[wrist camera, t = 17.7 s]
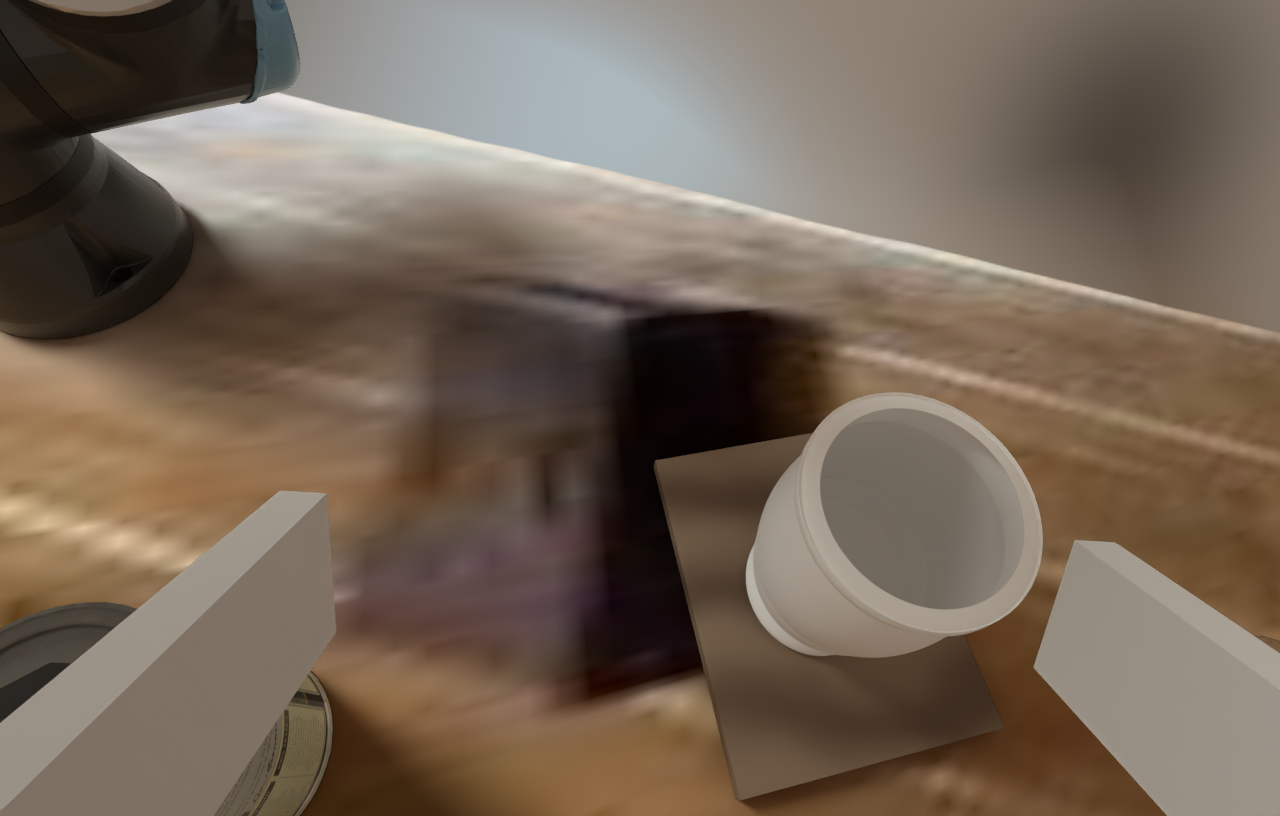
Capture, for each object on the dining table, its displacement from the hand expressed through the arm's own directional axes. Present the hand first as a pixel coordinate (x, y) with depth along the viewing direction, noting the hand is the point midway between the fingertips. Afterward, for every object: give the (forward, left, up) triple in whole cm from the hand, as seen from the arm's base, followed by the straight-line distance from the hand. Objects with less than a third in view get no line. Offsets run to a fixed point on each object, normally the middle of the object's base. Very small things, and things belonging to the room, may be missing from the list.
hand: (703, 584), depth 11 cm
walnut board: (-4, +13, -29) cm, 32 cm away
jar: (-4, +13, -28) cm, 31 cm away
